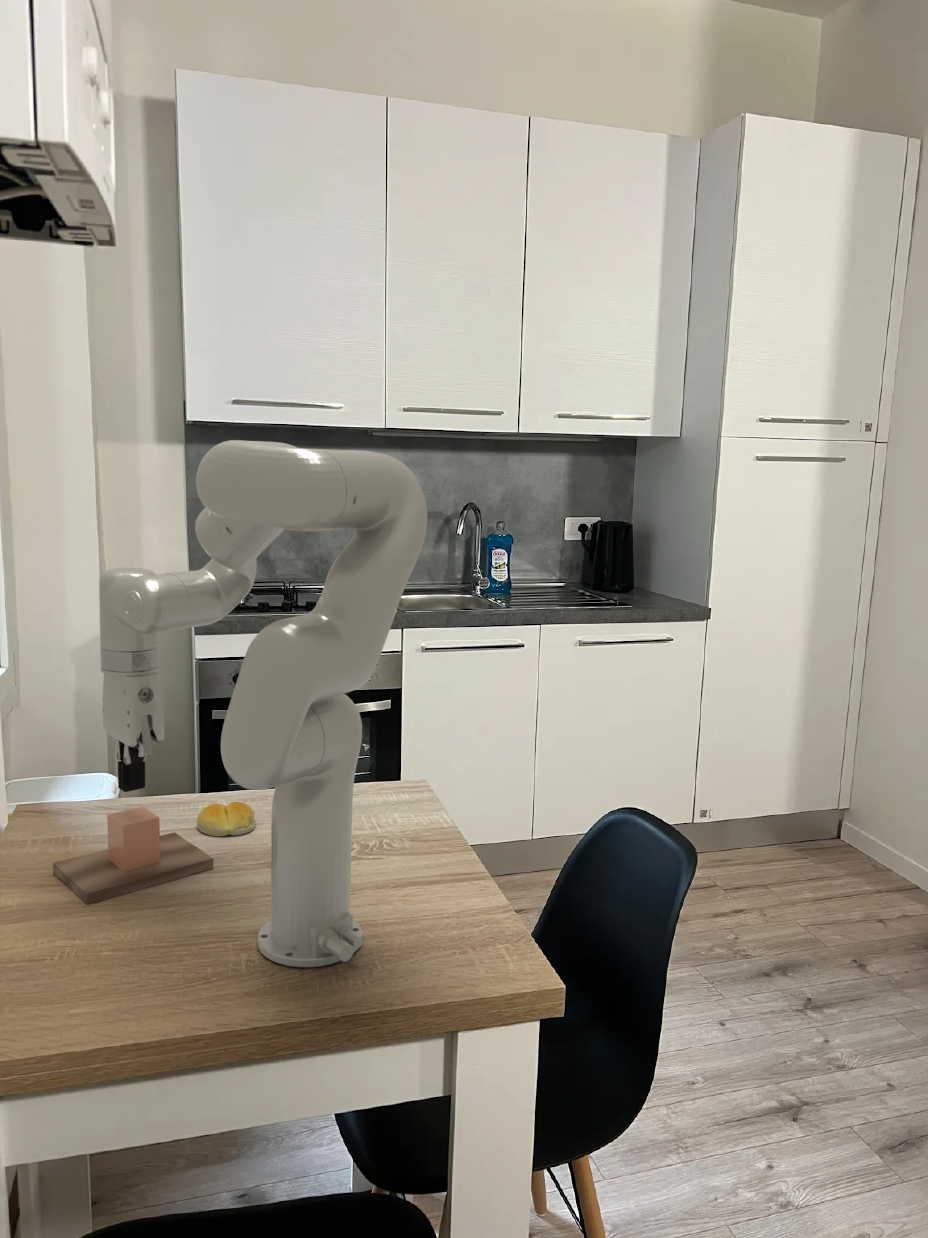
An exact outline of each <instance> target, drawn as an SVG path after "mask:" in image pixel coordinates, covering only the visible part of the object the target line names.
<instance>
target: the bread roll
mask: <svg viewBox="0 0 928 1238" xmlns="http://www.w3.org/2000/svg"><path fill="white" fill-rule="evenodd" d="M255 822H256V820H255V810H254V809H252V807H251V806H250V805H248V804H246V803H244V802H240V801H233V802H231V803H229V804H227V805H224V804H221V803H212V804H210V805H207V806H205V807H204V808H203V809H202V810H201V811H200V812H199V813H198V815H197V818H196V827H197V829H198V830H199V832H201V833H202V834H205V835H208V836H211V837H226V836H227V837H228V835H231V836H241V835H245V834H247V833H249V832H252V831H253V830H254V829H255V825H256V824H255Z"/></svg>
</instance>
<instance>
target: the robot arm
mask: <svg viewBox="0 0 928 1238" xmlns="http://www.w3.org/2000/svg"><path fill="white" fill-rule="evenodd" d="M195 475H196V476H195V485H196V486H195V487H196V493H197V495H198V498H199V500H200V502H201V504H202V505H203V506H204V508H203V509H202V511H201V512H200V513H199V514H198V516H197V518H196V520H195V524H194V530H195V536H196V539H197V540H198V543H199V544H200V546H201V548H202V549H203V550H204V552H205V553H206V554H207V555H208V556H209V557H210V558H211V559H210V560H209V561H208V562H207V563H206V564H204V566H202V567H201V568H200V569H197V570H186V571H177V572H176V571H174V572H173V571H172V572H166V573H161V574H160V573H158V574H156V573H155V572H154V571H153V570H150V569H147V568H140V567H117V568H110V569H107V570H105V571H103V572H102V573H101V575H100V577H99V583H98V591H99V593H98V595H99V600H98V601H99V633H100V634H99V636H100V637H99V642H100V648H99V649H100V652H99V653H100V672H101V673H103V683H102V724H103V729H104V731H105V733H106V734H108V735H109V736H111V737H110V738H111V739H112V740H113V741H114V743H115V754H116V759H117V786H118V789H120V790H121V791H123V792H124V793H128V792H132V791H137V790H141V789H144V788H145V787H146V762H147V759H148V758H147V757H151V756H153V745H152V741H154V742H155V743H158V744H160V743H162V742H164V739H165V719H164V716H165V714H164V704H163V702H164V701H163V694H162V693H163V692H162V685H161V681H160V674H159V670H160V634H161V633H168V632H175V631H178V630H185V629H186V630H187V629H191V628H196V627H197V628H198V627H203V626H204V627H205V626H208V625H212V624H215V623H218V622H219V621H220V620H222V619H223V618H225V617H226V616H228V614H229V613H231V612H232V611H233V610H234V609H235V608H236V607H237V606H238V605H239V604H240V603H241V602H242V601H243V600H244V599H245V598H246V597H247V596H248V594H250V592H251V590H252V588H253V586H254V583H255V579H256V574H257V571H258V570H257V568H258V567H257V566H258V565H257V564H258V562H257V559H258V557H259V556H260V555H261V553H263V552H264V551H265V549H267V548H268V547H269V545H270V544H271V543H272V542H273V541H275V539H276V538H278V536H279V535H280V534H281V533H282V532H283V531H284V530H287V531H295V532H325V531H339V530H340V531H341V530H352V529H353V530H354V534H353V536H352V538H351V539H350V540H349V542H348V543H347V544H346V545H345V546H344V548H343V549H341V551H340V553H339V554H338V555H337V557H336V558H335V560H334V561H333V563H332V565H331V566H330V569H329V571H328V573H327V575H326V579H325V582H324V585H323V588H322V590H321V593H320V596H319V599H318V601H317V603H316V605H315V606H314V608H313V609H312V610H311V611H309V612H308V613H306V614H301V615H297V616H293V617H285V618H283V619H278V620H276V621H274V622H272V623H271V622H270V623H269V624H268V625H266V626H265V627H264V628H262V629H261V630H260V631H259V632H258V633H256V635H255V636H254V638H253V640H252V641H251V642H250V644H249V645H248V648H247V651H246V653H245V655H244V658H243V661H242V663H241V667H240V669H239V673H238V675H237V676H238V677H237V679H236V683H235V686H234V689H233V691H232V692H233V693H232V696H231V698H230V702H229V705H228V708H227V711H226V715H225V718H224V722H223V726H222V730H221V736H220V754H221V760H222V763H223V766H224V769H225V771H226V772H227V774H228V776H229V777H230V779H231V780H232V781H233V782H234V783H235V784H237V785H238V786H240V787H242V788H244V789H246V790H252V791H266V790H269V789H272V788H274V793H273V798H272V804H271V829H270V832H271V833H270V835H271V839H270V845H271V846H270V847H271V848H270V853H271V854H270V860H271V861H270V875H271V876H270V920H268V921H267V922H266V923H264V924H263V925H262V926H261V927H260V929H259V930H258V933H257V947H258V950H259V951H260V953H261V954H262V955H263V956H264V957H265V958H267V959H268V960H270V961H271V962H274V963H276V964H279V965H282V966H288V967H294V968H315V967H317V968H318V967H323V966H330V965H332V964H336V963H339V962H343V963H344V962H345V963H346V962H348V961H350V959H352V957H353V954H354V953H355V952H357V950H358V949H360V947H362V945H363V942H364V940H363V935H362V934H363V931H362V930H363V929H362V927H361V926H360V924H359V923H358V922H357V921H356V920H355V919H354V915H353V914H352V913H351V912H350V911H351V872H352V871H351V870H352V869H351V868H352V861H351V860H352V829H353V828H352V827H353V826H352V824H353V823H352V822H353V800H354V799H353V797H354V784H355V777H356V776H355V775H356V771H357V770H356V769H357V765H358V761H359V757H360V753H361V752H360V751H361V746H362V739H363V723H362V718H361V714H360V712H359V710H358V707H357V705H356V704H355V703H354V701H353V700H352V699H351V698H350V697H349V696H348V695H347V694H348V693H351V692H353V691H355V690H357V689H360V688H361V687H363V686H364V685H365V684H367V683H368V682H369V680H370V679H371V678H372V676H373V674H374V672H375V670H376V668H377V665H378V663H379V659H380V657H381V654H382V651H383V649H384V646H385V644H386V641H387V639H388V635H389V633H390V631H391V627H392V624H393V622H394V619H395V616H396V613H397V611H398V608H399V604H400V601H401V599H402V596H403V594H404V590H405V589H406V586H407V583H408V581H409V580H410V577H411V574H412V573H413V571H414V568H415V566H416V563H417V562H418V559H419V557H420V554H421V551H422V549H423V545H424V542H425V538H426V535H427V529H428V528H427V527H428V511H427V509H428V508H427V503H426V498H425V494H424V491H423V489H422V487H421V484H420V483H419V481H418V478H417V477H416V476H415V473H413V471H412V470H411V469H410V468H409V467H408V466H407V465H406V464H404V463H403V462H402V461H401V460H399V459H398V458H395V457H393V456H390V455H388V454H385V453H382V452H376V451H370V450H357V449H355V450H354V449H329V448H328V449H325V448H323V449H321V448H303V447H302V448H301V447H297V446H295V445H292V444H289V443H286V442H285V443H284V442H276V441H259V440H240V439H233V440H226V441H222V442H220V443H218V444H216V445H214V446H212V447H211V448H210V449H209V450H208V451H207V452H206V453H205V455H204V456H203V457H202V458H201V461H200V463H199V464H198V468H197V470H196V474H195Z"/></svg>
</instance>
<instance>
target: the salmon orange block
mask: <svg viewBox="0 0 928 1238" xmlns="http://www.w3.org/2000/svg"><path fill="white" fill-rule="evenodd" d="M106 820H107V849H108V859H109V860H110V861H111V862H113V863H114V864H115V865H116V866H118V867H119V868H120V869H121V870H123V871H128V870H132V869H136V868H139V867H143V866H147V865H150V864H154V863H158V862H160V836H161V835H160V831H161V830H160V825H161V824H160V816H158V815H157V814H155V813H154V812H153V811H151V810H149V809H147V807H145V806H138V807H134V808H131V809H126V810H121V811H117V812H113V813H108V814H107V818H106Z"/></svg>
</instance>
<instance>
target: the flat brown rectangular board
mask: <svg viewBox="0 0 928 1238" xmlns="http://www.w3.org/2000/svg"><path fill="white" fill-rule="evenodd" d="M212 869H214V857H212V856H211V855H209V854H208V853H206V852H205V851H203V850H202V849H200V848H198V847H197V846H196V845H194V844H193V843H191V842H190V841H188V840H187V839H185V838H184V837H183V836H181V835H179V834H177V832H170V833H166V834H163V835H160V862H158V863H154V864H150V865H147V866H143V867H139V868H136V869H132V870H128V871H123V870H121V869H120V868H119V867H118V866H116V865H115V864H114V863H113V862H111V861H110V860H109V859H108V848H106V849H103V850H99V851H95V852H91V853H86V854H83V855H79V856H75V857H71V858H67V859H63V860H58V861H55V862H52V873H53V875H54V876H56V877H57V878H58V879H59V880H60V882H62V883H64V885H65V886H67V887H68V888H69V889H70V890H71V891H72V892H73V893H74V894H75V895H76V896H78V897H79V898H80V899H81V901H83V902H84V903H85V904H86V905H90V904H93V903H98V902H100V901H101V902H102V901H104V900H108V899H112V898H115V897H118V896H122V895H125V894H129V893H133V892H135V891H139V890H143V889H145V888H146V889H147V888H150V887H154V886H156V885H160V884H162V883H163V884H164V883H167V882H171V881H174V880H177V879H180V878H181V879H182V878H184V877H189V876H191V875H194V874H199V873H203V872H205V871H209V870H212Z"/></svg>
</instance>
